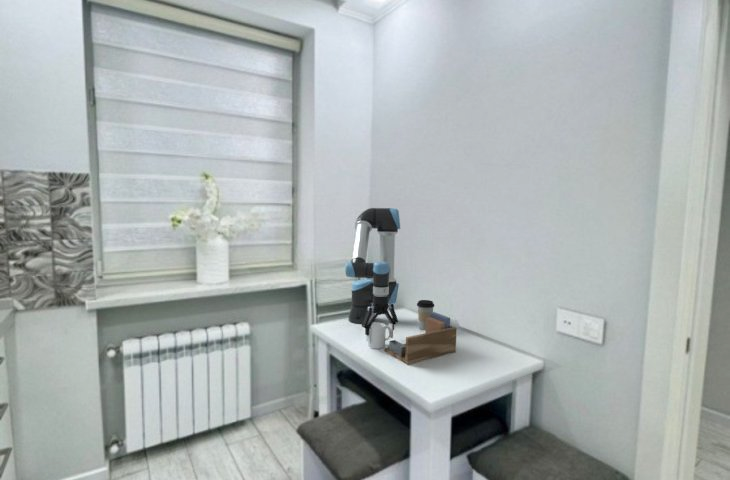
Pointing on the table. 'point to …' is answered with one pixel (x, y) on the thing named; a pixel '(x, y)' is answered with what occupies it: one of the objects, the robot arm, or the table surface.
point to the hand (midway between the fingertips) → (379, 339)
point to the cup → (378, 335)
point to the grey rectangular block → (397, 348)
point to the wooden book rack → (427, 346)
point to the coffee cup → (424, 312)
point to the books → (436, 322)
